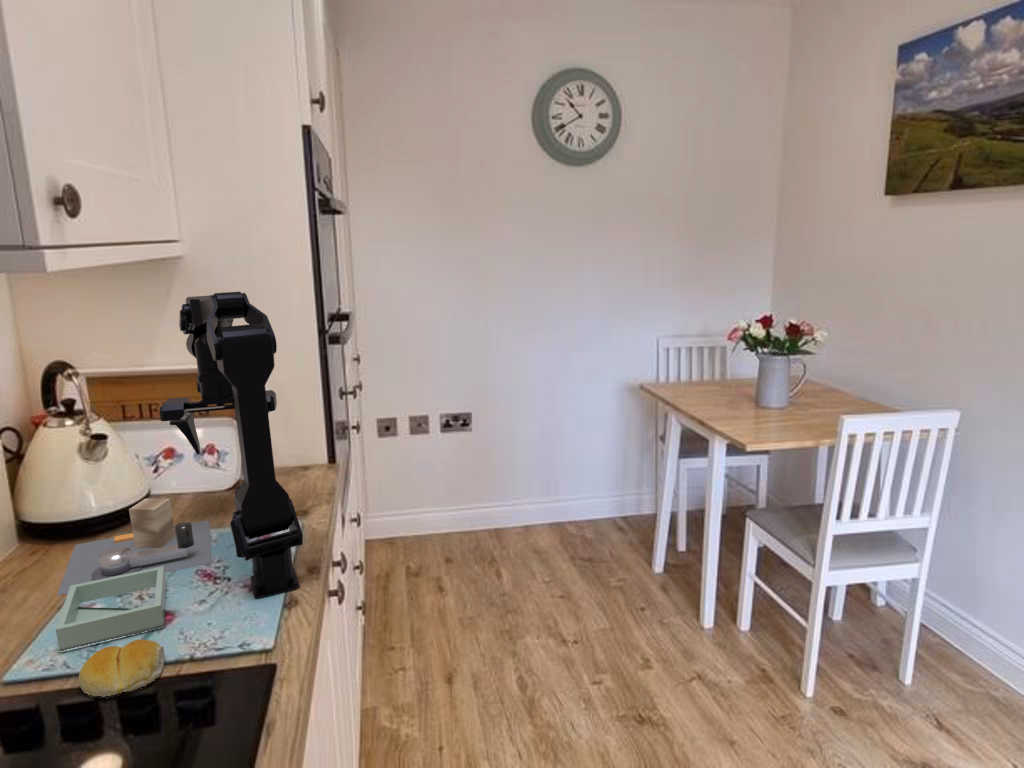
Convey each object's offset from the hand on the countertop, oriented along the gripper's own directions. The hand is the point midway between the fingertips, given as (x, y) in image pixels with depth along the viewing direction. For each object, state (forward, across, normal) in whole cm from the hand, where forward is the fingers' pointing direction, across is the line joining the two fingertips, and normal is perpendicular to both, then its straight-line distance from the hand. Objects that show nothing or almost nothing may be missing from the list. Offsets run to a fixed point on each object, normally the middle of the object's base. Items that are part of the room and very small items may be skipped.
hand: (226, 450), depth 119 cm
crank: (+13, +11, +15) cm, 22 cm away
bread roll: (+15, +8, +43) cm, 46 cm away
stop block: (+13, +12, +6) cm, 19 cm away
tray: (+14, +12, +28) cm, 34 cm away
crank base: (+14, +13, +10) cm, 22 cm away
